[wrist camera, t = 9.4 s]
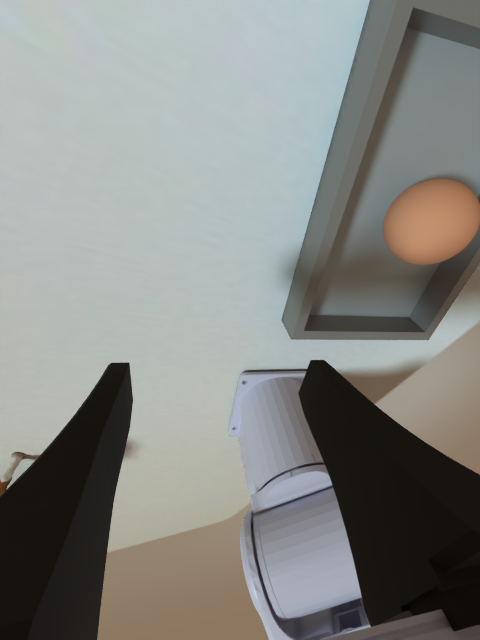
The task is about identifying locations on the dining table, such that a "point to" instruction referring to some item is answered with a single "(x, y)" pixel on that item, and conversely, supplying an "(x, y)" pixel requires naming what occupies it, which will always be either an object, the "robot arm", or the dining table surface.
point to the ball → (431, 221)
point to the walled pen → (392, 175)
